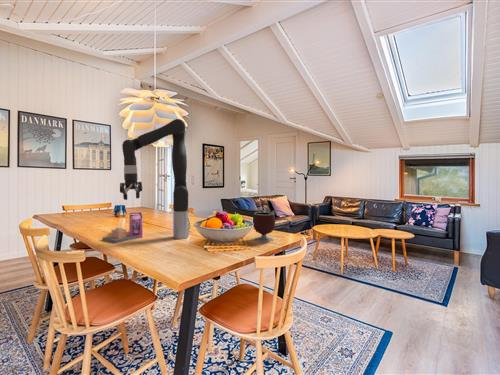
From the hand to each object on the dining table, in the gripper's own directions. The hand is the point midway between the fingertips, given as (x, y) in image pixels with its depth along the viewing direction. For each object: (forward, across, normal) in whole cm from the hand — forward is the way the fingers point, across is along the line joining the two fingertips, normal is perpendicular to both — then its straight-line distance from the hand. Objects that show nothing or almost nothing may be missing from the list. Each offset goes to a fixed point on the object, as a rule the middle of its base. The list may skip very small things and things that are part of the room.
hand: (131, 199), depth 170 cm
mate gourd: (+28, -43, +70) cm, 87 cm away
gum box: (+26, -9, -9) cm, 29 cm away
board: (+25, +6, -6) cm, 26 cm away
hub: (+23, +6, -6) cm, 25 cm away
